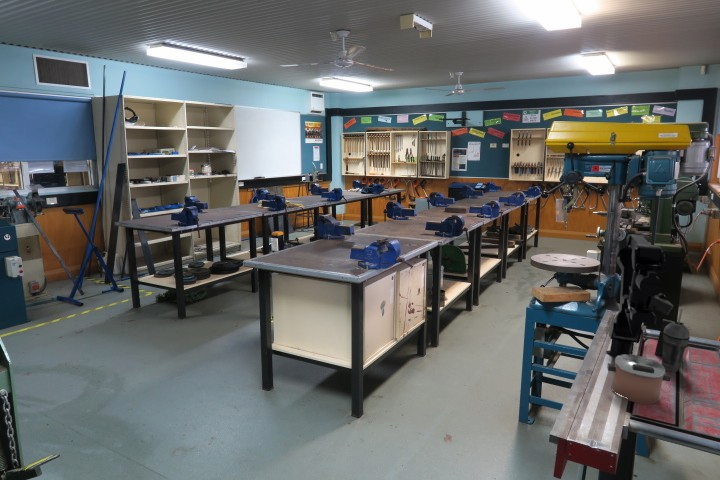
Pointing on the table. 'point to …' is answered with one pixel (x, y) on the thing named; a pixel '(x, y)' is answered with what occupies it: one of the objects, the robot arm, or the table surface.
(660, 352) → the phone stand
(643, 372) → the cooker lid
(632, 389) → the cooker pot
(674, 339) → the beverage cup
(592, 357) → the table surface
